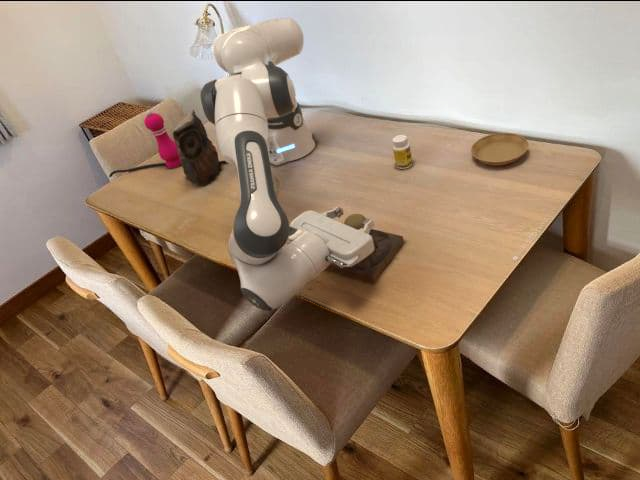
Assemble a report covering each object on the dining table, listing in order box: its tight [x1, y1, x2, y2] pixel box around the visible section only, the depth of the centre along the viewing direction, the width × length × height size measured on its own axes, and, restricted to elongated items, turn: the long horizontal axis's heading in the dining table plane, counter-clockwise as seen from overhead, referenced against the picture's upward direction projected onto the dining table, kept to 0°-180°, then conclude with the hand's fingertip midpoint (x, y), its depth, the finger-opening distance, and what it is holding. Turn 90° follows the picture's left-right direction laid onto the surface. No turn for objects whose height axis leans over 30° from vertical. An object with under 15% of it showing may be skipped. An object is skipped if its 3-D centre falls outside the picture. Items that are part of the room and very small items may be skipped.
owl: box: [172, 109, 222, 187], centre depth 156 cm, size 13×13×20 cm
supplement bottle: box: [392, 134, 413, 170], centre depth 139 cm, size 5×5×8 cm
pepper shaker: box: [343, 213, 378, 260], centre depth 113 cm, size 6×6×11 cm
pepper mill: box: [143, 109, 181, 169], centre depth 168 cm, size 7×7×20 cm
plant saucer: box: [470, 132, 530, 167], centre depth 134 cm, size 15×15×3 cm
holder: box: [325, 228, 405, 283], centre depth 116 cm, size 14×14×2 cm
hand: (355, 215), depth 110 cm, fingers open, 8 cm apart
